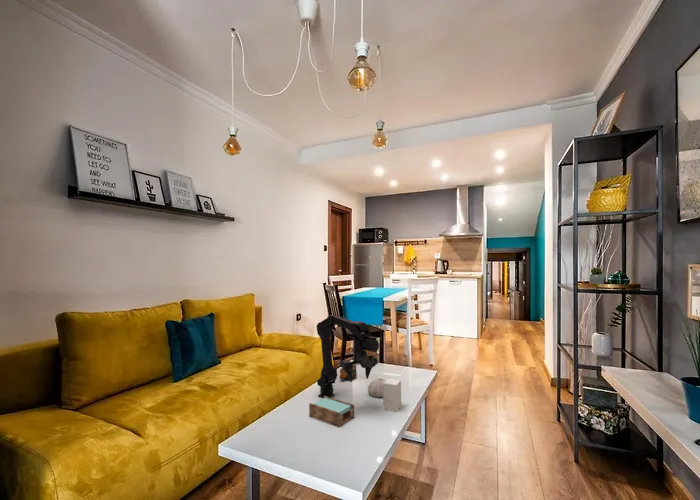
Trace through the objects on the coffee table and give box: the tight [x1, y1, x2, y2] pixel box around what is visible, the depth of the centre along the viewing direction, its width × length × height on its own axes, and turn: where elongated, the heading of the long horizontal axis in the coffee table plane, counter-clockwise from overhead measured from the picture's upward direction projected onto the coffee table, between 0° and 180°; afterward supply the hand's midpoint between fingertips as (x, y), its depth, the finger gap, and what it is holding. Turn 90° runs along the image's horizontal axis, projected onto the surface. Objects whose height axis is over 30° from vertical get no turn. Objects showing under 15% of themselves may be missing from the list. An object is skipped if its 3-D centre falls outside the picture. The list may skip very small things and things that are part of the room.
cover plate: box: [312, 398, 351, 416], centre depth 150 cm, size 16×9×2 cm, turn 53°
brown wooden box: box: [308, 396, 355, 428], centre depth 150 cm, size 18×11×6 cm, turn 53°
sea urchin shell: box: [367, 378, 386, 398], centre depth 176 cm, size 13×14×8 cm
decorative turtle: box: [339, 365, 358, 380], centre depth 201 cm, size 10×15×8 cm, turn 148°
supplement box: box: [382, 378, 402, 412], centre depth 159 cm, size 7×7×13 cm
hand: (359, 380), depth 159 cm, fingers open, 9 cm apart
